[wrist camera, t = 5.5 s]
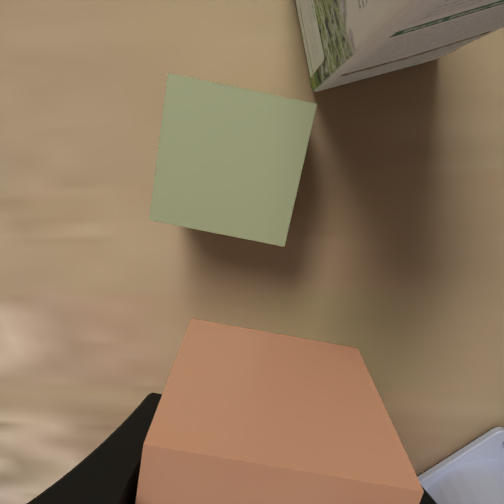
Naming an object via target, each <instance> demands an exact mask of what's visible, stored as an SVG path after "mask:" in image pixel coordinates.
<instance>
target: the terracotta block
mask: <svg viewBox="0 0 504 504" xmlns="http://www.w3.org/2000/svg"><path fill="white" fill-rule="evenodd" d="M423 493H424V491H423V488H422V486H421V484H420V482H419V480H418V478H417V475H416V473H415V471H414V469H413V467H412V465H411V463H410V460H409V458H408V456H407V454H406V452H405V450H404V447H403V445H402V443H401V441H400V439H399V437H398V434H397V432H396V430H395V428H394V426H393V424H392V421H391V419H390V417H389V415H388V413H387V411H386V409H385V406H384V404H383V402H382V400H381V398H380V396H379V393H378V391H377V389H376V387H375V385H374V383H373V380H372V378H371V376H370V374H369V372H368V370H367V367H366V365H365V363H364V361H363V359H362V357H361V354H360V352H359V350H358V348H353V347H348V346H342V345H337V344H331V343H326V342H320V341H314V340H309V339H303V338H298V337H292V336H287V335H281V334H275V333H270V332H264V331H259V330H253V329H247V328H242V327H236V326H231V325H225V324H220V323H214V322H208V321H203V320H197V319H192V318H191V320H190V323H189V325H188V328H187V330H186V333H185V336H184V338H183V341H182V344H181V346H180V349H179V352H178V354H177V357H176V359H175V362H174V365H173V367H172V370H171V373H170V375H169V378H168V381H167V383H166V386H165V389H164V391H163V394H162V396H161V399H160V402H159V404H158V407H157V410H156V412H155V415H154V418H153V420H152V423H151V426H150V428H149V431H148V433H147V436H146V439H145V441H144V444H143V451H142V458H141V465H140V473H139V480H138V487H137V495H136V502H135V504H419V503H420V500H421V498H422V495H423Z"/></svg>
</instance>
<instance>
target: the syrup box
mask: <svg viewBox="0 0 504 504" xmlns="http://www.w3.org/2000/svg"><path fill="white" fill-rule="evenodd" d="M295 4H296V9H297V14H298V18H299V23H300V28H301V33H302V39H303V44H304V49H305V54H306V59H307V64H308V69H309V75H310V80H311V86H312V90H313V91H315V92H318V91H322V90H325V89H329V88H333V87H337V86H340V85H344V84H348V83H351V82H355V81H359V80H362V79H366V78H370V77H373V76H377V75H381V74H384V73H388V72H392V71H396V70H399V69H403V68H407V67H411V66H414V65H418V64H422V63H425V62H429V61H432V60H435V59H438V58H441V57H443V56H445V55H447V54H449V53H451V52H453V51H455V50H457V49H459V48H461V47H462V46H464V45H466V44H468V43H470V42H472V41H474V40H477V39H479V38H481V37H483V36H485V35H487V34H489V33H492V32H494V31H496V30H498V29H501V28H503V27H504V0H295Z"/></svg>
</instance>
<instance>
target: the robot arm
mask: <svg viewBox="0 0 504 504" xmlns="http://www.w3.org/2000/svg"><path fill="white" fill-rule="evenodd" d="M161 396H162V394H157V393H151V394H149V395H148V396H147V397H146V398H145V399H144V400H143V402H142V403H141V404H140V405H139V406H138V407H137V409H136V410H135V411H134V412H133V413H132V414H131V415H130V416H129V417H128V418H127V419H126V420H125V421H124V422H123V423H122V425H121V426H119V427H118V428H117V429H116V430H115V431H114V432H113V433H112V434H111V435H110V436H109V437H108V438H107V439H106V440H105V441H104V442H103V443H102V444H101V445H100V446H99V447H98V448H96V449H95V450H94V451H93V452H92V453H91V454H90V455H88V456H87V457H86V458H85V459H84V460H83V461H82V462H80V463H79V464H78V465H77V466H76V467H75V468H73V469H72V470H71V471H70V472H69V473H67V474H66V475H65V476H64V477H62V478H61V479H60V480H58V481H57V482H56V483H55V484H53V485H52V486H51V487H49V488H48V489H47V490H45V491H44V492H43V493H41V494H40V495H38V496H37V497H36V498H34V499H33V500H31V501H30V502H28V503H27V504H135V502H136V495H137V487H138V480H139V473H140V465H141V458H142V451H143V444H144V441H145V439H146V436H147V433H148V431H149V428H150V426H151V423H152V420H153V418H154V415H155V412H156V410H157V407H158V404H159V402H160V399H161ZM503 442H504V428H503V427H495V428H493V429H491V430H490V431H488V432H487V433H485V434H484V435H482V436H480V437H479V438H477V439H476V440H474V441H473V442H471V443H470V444H468V445H466V446H465V447H463V448H462V449H460V450H459V451H457V452H455V453H454V454H452V455H451V456H449V457H448V458H446V459H445V460H443V461H441V462H440V463H438V464H437V465H435V466H434V467H432V468H431V469H429V470H427V471H426V472H424V473H423V474H421V475H420V476H418V477H417V478H418V480H419V482H420V484H421V486H422V488H423V491H424V493H423V495H422V498H421V500H420V503H419V504H504V443H503Z"/></svg>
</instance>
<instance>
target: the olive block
mask: <svg viewBox="0 0 504 504" xmlns="http://www.w3.org/2000/svg"><path fill="white" fill-rule="evenodd" d="M316 106H317V104H315V103H311V102H306V101H301V100H296V99H291V98H287V97H282V96H277V95H272V94H267V93H263V92H258V91H253V90H248V89H243V88H239V87H234V86H229V85H224V84H219V83H215V82H210V81H205V80H200V79H195V78H190V77H186V76H181V75H176V74H171V73H168V76H167V84H166V92H165V100H164V107H163V115H162V123H161V131H160V139H159V147H158V155H157V162H156V170H155V178H154V186H153V194H152V202H151V210H150V217H149V220H152V221H157V222H162V223H167V224H172V225H177V226H182V227H187V228H192V229H197V230H202V231H207V232H212V233H217V234H222V235H227V236H232V237H237V238H242V239H247V240H253V241H258V242H263V243H268V244H273V245H278V246H283V247H285V242H286V238H287V234H288V229H289V225H290V220H291V216H292V212H293V207H294V203H295V199H296V194H297V190H298V185H299V181H300V177H301V172H302V168H303V163H304V159H305V155H306V150H307V146H308V141H309V137H310V133H311V128H312V124H313V120H314V115H315V111H316Z"/></svg>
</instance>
